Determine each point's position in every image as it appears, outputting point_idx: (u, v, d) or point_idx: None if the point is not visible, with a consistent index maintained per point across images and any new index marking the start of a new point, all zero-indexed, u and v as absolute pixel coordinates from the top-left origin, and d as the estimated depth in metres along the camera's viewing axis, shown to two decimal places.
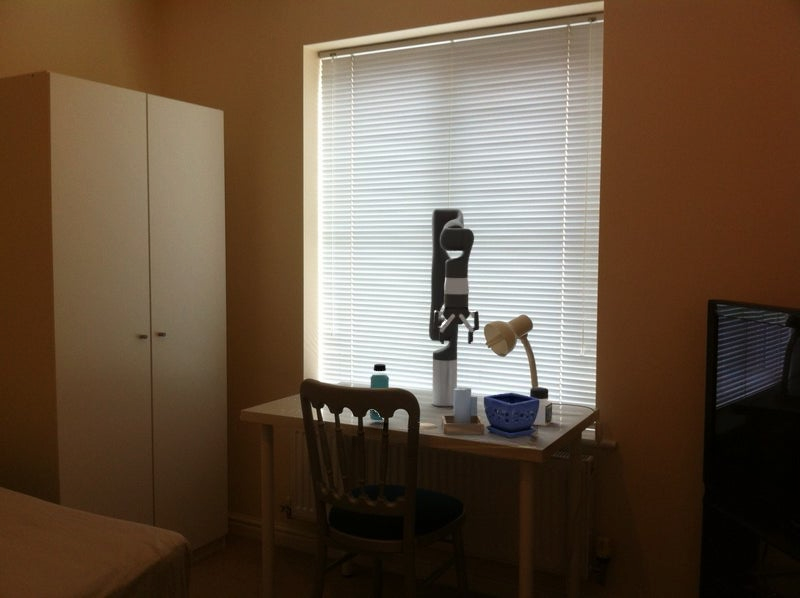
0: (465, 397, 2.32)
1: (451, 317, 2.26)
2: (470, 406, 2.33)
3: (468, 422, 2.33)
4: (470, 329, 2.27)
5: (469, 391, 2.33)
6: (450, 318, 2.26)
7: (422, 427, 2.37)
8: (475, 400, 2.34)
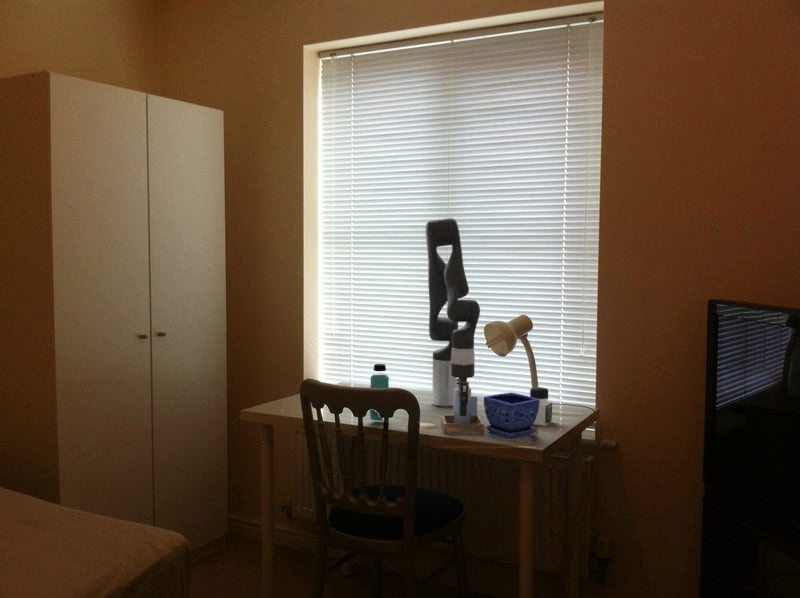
0: None
1: None
2: (470, 406, 2.33)
3: (468, 422, 2.33)
4: None
5: (469, 391, 2.33)
6: (468, 388, 2.32)
7: (422, 427, 2.37)
8: (475, 400, 2.34)
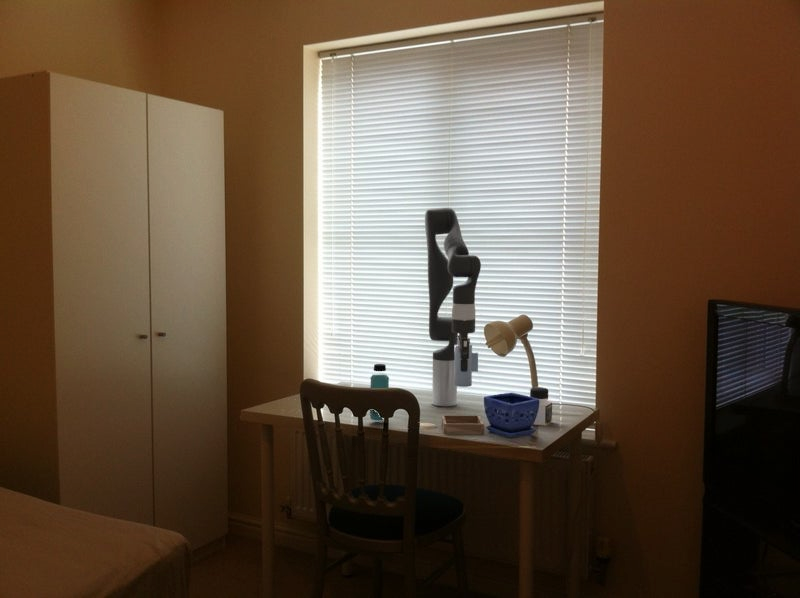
0: None
1: (469, 342, 2.32)
2: (471, 362, 2.33)
3: (469, 378, 2.32)
4: None
5: (470, 347, 2.32)
6: (469, 343, 2.32)
7: (422, 427, 2.37)
8: (476, 356, 2.33)
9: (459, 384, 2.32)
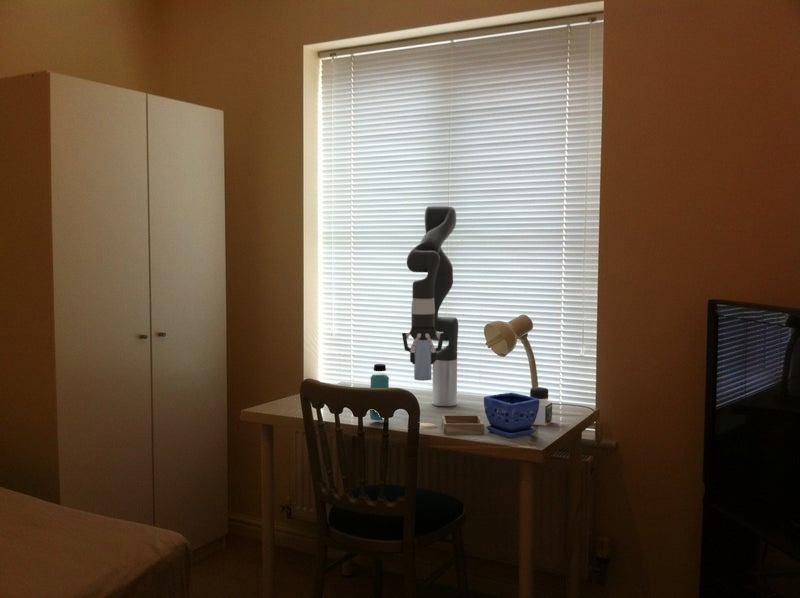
0: None
1: (418, 336, 2.34)
2: (419, 357, 2.34)
3: (416, 372, 2.35)
4: (432, 350, 2.35)
5: (417, 341, 2.34)
6: (417, 338, 2.34)
7: (422, 427, 2.37)
8: (421, 352, 2.32)
9: None
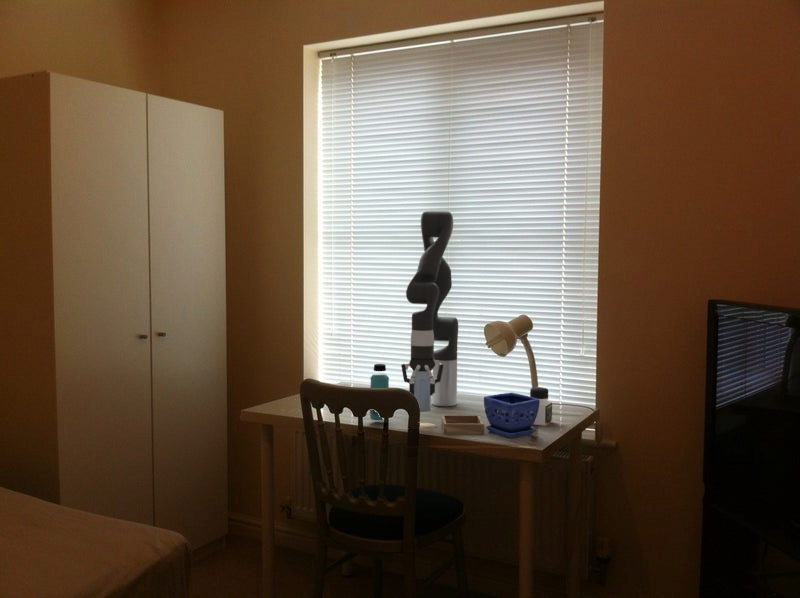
0: None
1: (417, 368, 2.35)
2: (418, 388, 2.35)
3: None
4: (432, 381, 2.36)
5: (416, 373, 2.35)
6: (416, 369, 2.35)
7: (422, 427, 2.37)
8: (420, 383, 2.33)
9: None
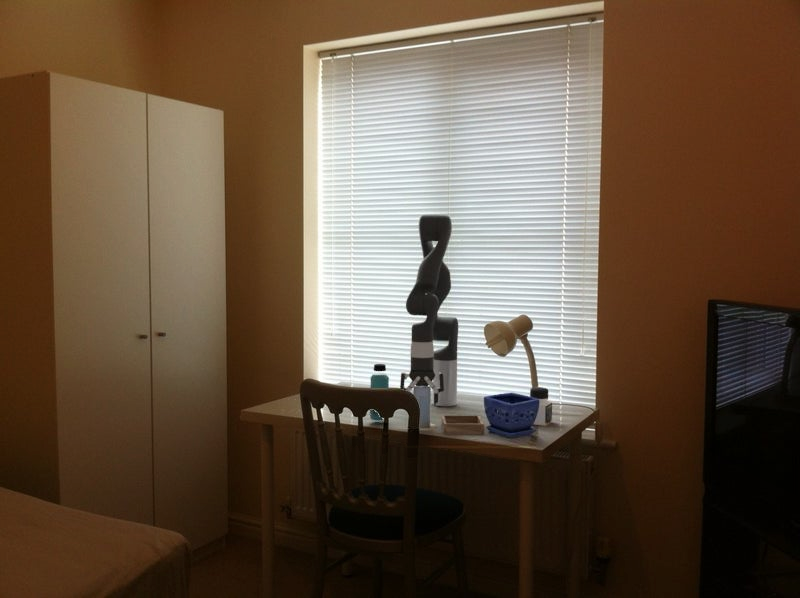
0: (413, 393, 2.36)
1: (416, 379, 2.35)
2: None
3: None
4: (435, 391, 2.36)
5: (416, 389, 2.35)
6: (415, 380, 2.35)
7: None
8: (420, 400, 2.33)
9: None
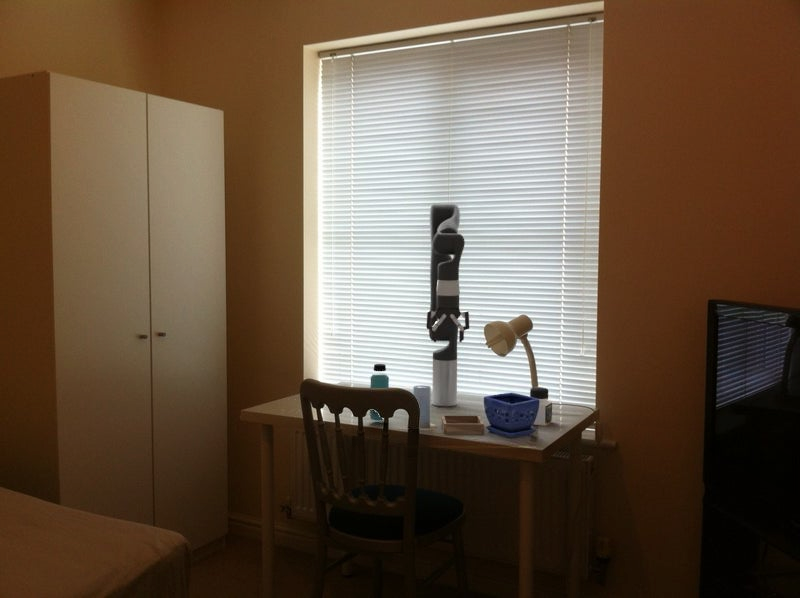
0: (413, 393, 2.37)
1: (442, 317, 2.41)
2: None
3: None
4: (461, 328, 2.41)
5: (416, 389, 2.35)
6: (442, 318, 2.41)
7: None
8: (420, 400, 2.33)
9: None
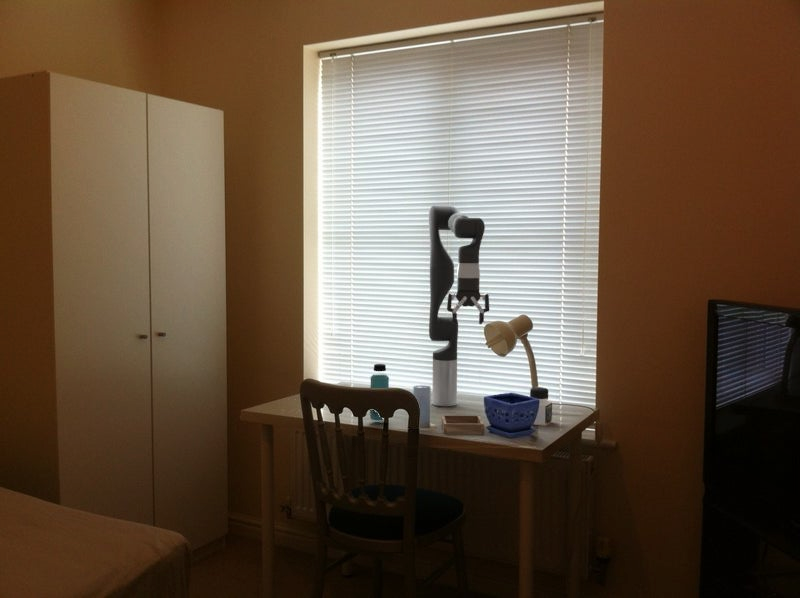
0: (413, 393, 2.37)
1: (463, 299, 2.45)
2: None
3: None
4: (481, 310, 2.46)
5: (416, 389, 2.35)
6: (462, 300, 2.46)
7: None
8: (420, 400, 2.33)
9: None
